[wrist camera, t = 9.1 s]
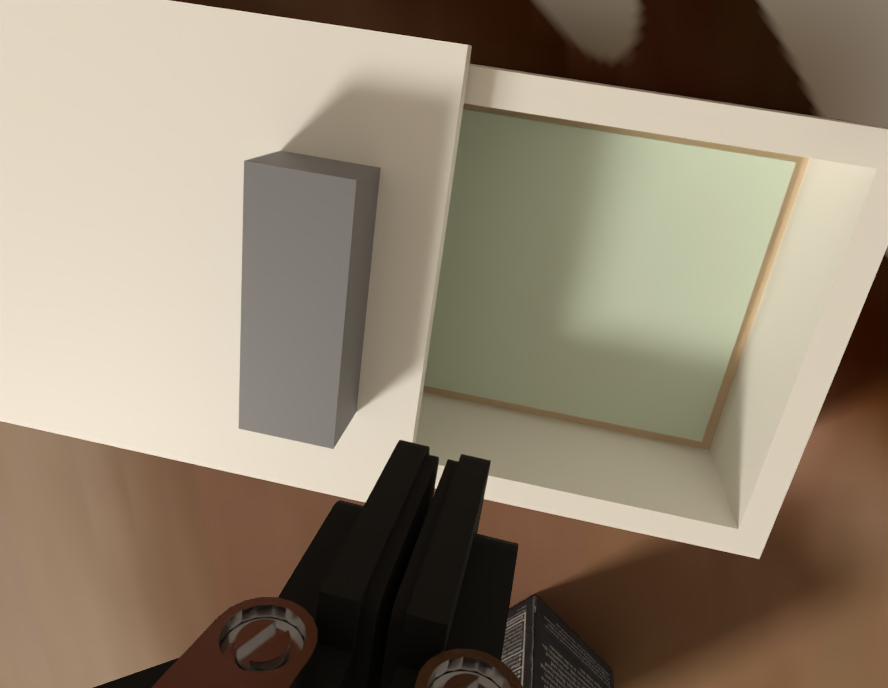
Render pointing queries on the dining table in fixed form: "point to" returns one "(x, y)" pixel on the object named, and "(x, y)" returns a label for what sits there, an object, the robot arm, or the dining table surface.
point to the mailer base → (646, 300)
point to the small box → (549, 651)
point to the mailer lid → (222, 233)
